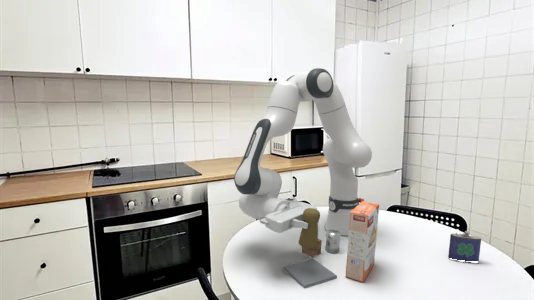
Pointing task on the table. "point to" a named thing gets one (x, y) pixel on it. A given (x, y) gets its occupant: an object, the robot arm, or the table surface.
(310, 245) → the olive pawn piece
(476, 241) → the flask
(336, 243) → the grey tin
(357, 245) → the cracker box
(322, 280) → the coaster
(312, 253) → the walnut block
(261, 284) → the table surface
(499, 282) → the table surface
